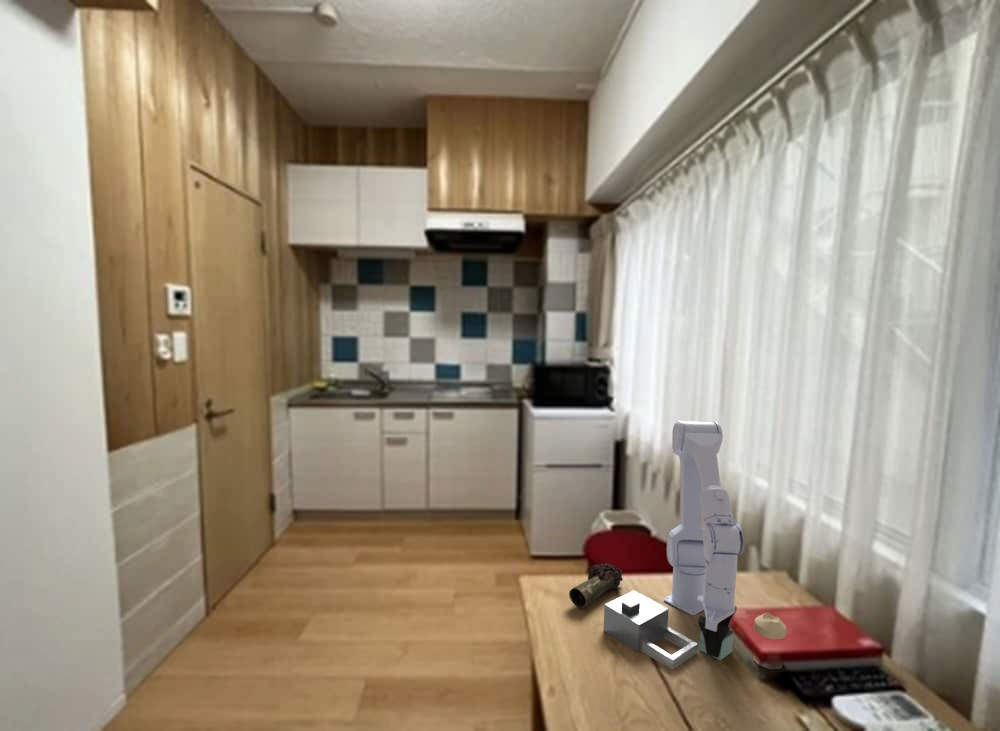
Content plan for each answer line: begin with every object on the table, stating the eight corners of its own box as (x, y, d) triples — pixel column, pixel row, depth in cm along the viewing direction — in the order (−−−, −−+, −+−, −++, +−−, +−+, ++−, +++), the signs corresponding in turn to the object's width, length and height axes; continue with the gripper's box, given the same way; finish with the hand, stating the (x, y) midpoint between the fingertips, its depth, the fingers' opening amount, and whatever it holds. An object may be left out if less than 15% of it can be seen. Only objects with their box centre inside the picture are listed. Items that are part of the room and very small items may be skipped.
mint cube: (710, 643, 106) (712, 620, 106) (731, 655, 103) (733, 631, 102) (699, 651, 104) (700, 628, 103) (720, 663, 100) (721, 639, 100)
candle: (746, 655, 103) (750, 608, 102) (774, 656, 103) (777, 609, 102) (759, 674, 97) (763, 624, 96) (788, 675, 97) (792, 626, 96)
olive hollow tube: (585, 612, 116) (587, 588, 115) (561, 599, 120) (563, 576, 120) (625, 586, 128) (627, 565, 128) (603, 576, 133) (604, 555, 133)
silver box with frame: (641, 611, 118) (642, 579, 117) (707, 648, 105) (709, 613, 104) (603, 630, 110) (605, 597, 109) (669, 673, 97) (671, 636, 96)
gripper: (706, 563, 110) (702, 622, 111) (690, 591, 98) (686, 658, 99) (742, 572, 106) (737, 634, 107) (730, 603, 94) (725, 672, 95)
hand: (715, 646), depth 103 cm, fingers closed on mint cube, 6 cm apart
